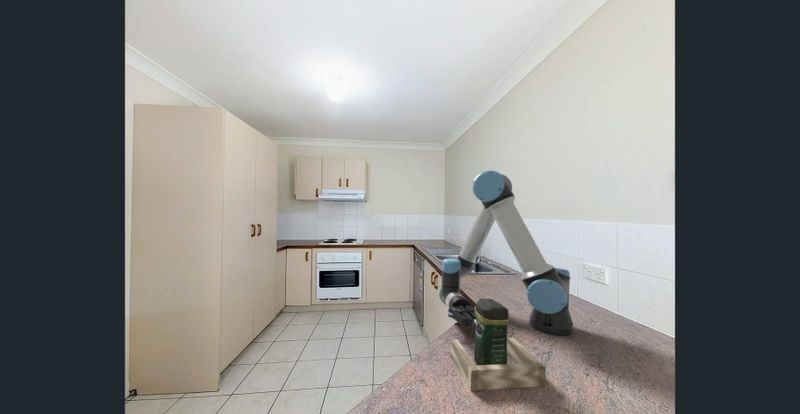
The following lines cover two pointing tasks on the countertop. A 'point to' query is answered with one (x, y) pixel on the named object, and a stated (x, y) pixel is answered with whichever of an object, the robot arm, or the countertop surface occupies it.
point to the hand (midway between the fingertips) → (484, 332)
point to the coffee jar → (491, 333)
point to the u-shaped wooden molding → (500, 369)
